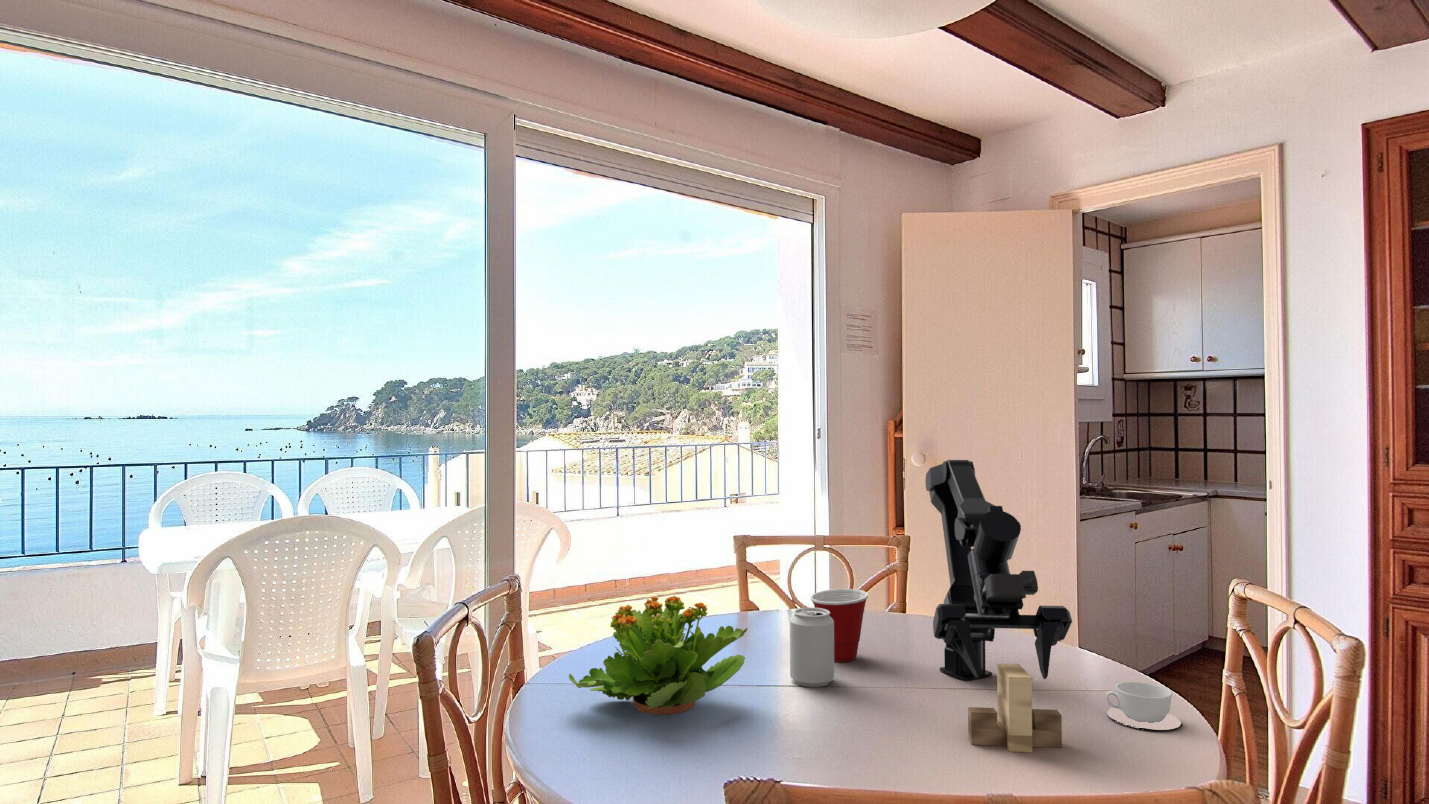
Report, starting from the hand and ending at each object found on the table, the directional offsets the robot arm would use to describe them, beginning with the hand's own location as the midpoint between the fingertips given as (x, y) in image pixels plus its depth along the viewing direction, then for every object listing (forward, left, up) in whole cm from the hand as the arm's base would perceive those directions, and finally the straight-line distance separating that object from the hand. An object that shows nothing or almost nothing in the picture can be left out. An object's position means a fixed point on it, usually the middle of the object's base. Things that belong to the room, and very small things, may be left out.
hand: (1011, 676), depth 115 cm
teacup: (-23, +3, -9) cm, 25 cm away
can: (+11, -34, -9) cm, 37 cm away
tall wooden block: (+1, +1, -9) cm, 9 cm away
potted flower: (+37, -35, -9) cm, 51 cm away
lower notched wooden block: (+1, +1, -9) cm, 9 cm away
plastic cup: (-1, -43, -9) cm, 44 cm away
